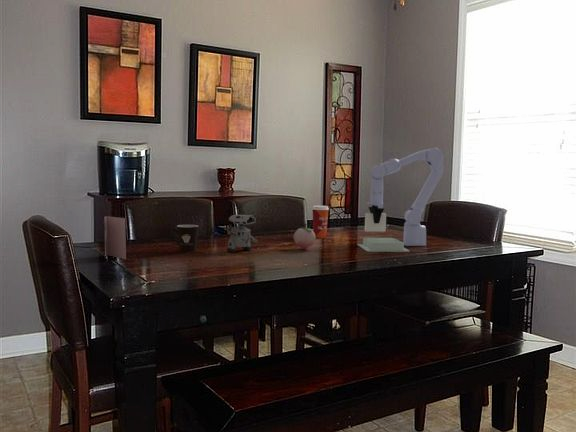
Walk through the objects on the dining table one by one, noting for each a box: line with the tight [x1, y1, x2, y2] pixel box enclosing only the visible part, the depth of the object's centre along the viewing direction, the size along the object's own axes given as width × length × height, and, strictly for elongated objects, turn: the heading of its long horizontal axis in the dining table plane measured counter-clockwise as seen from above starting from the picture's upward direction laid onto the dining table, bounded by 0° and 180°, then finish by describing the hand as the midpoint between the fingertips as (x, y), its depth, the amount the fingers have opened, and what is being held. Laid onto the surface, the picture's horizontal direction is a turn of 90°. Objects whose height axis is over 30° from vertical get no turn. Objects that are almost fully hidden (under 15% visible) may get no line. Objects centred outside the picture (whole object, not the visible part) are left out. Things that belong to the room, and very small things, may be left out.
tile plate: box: [364, 212, 387, 232], centre depth 247 cm, size 9×2×8 cm, turn 96°
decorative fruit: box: [293, 227, 317, 250], centre depth 228 cm, size 9×8×10 cm
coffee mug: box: [167, 224, 200, 253], centre depth 220 cm, size 12×9×10 cm
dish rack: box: [357, 237, 410, 253], centre depth 235 cm, size 18×17×4 cm
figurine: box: [226, 214, 261, 253], centre depth 219 cm, size 9×12×15 cm
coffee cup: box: [311, 205, 330, 239], centre depth 263 cm, size 8×8×15 cm
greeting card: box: [102, 215, 127, 260], centre depth 200 cm, size 11×7×15 cm, turn 22°
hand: (375, 222), depth 247 cm, fingers closed on tile plate, 2 cm apart
